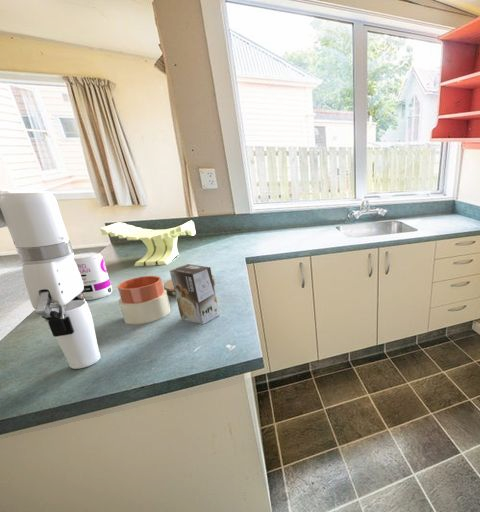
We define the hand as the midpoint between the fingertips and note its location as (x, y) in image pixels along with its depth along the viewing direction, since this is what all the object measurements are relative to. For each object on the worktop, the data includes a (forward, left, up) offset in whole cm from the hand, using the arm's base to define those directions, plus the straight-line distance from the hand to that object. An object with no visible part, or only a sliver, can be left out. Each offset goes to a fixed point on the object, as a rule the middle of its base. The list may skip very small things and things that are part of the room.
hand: (72, 325), depth 67 cm
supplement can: (-13, +45, -10) cm, 48 cm away
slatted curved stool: (-3, +83, -10) cm, 84 cm away
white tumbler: (0, 0, -10) cm, 10 cm away
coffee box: (+22, +14, -10) cm, 28 cm away
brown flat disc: (+16, +40, -10) cm, 44 cm away
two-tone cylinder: (+7, +22, -10) cm, 25 cm away
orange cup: (+7, +22, -10) cm, 25 cm away
